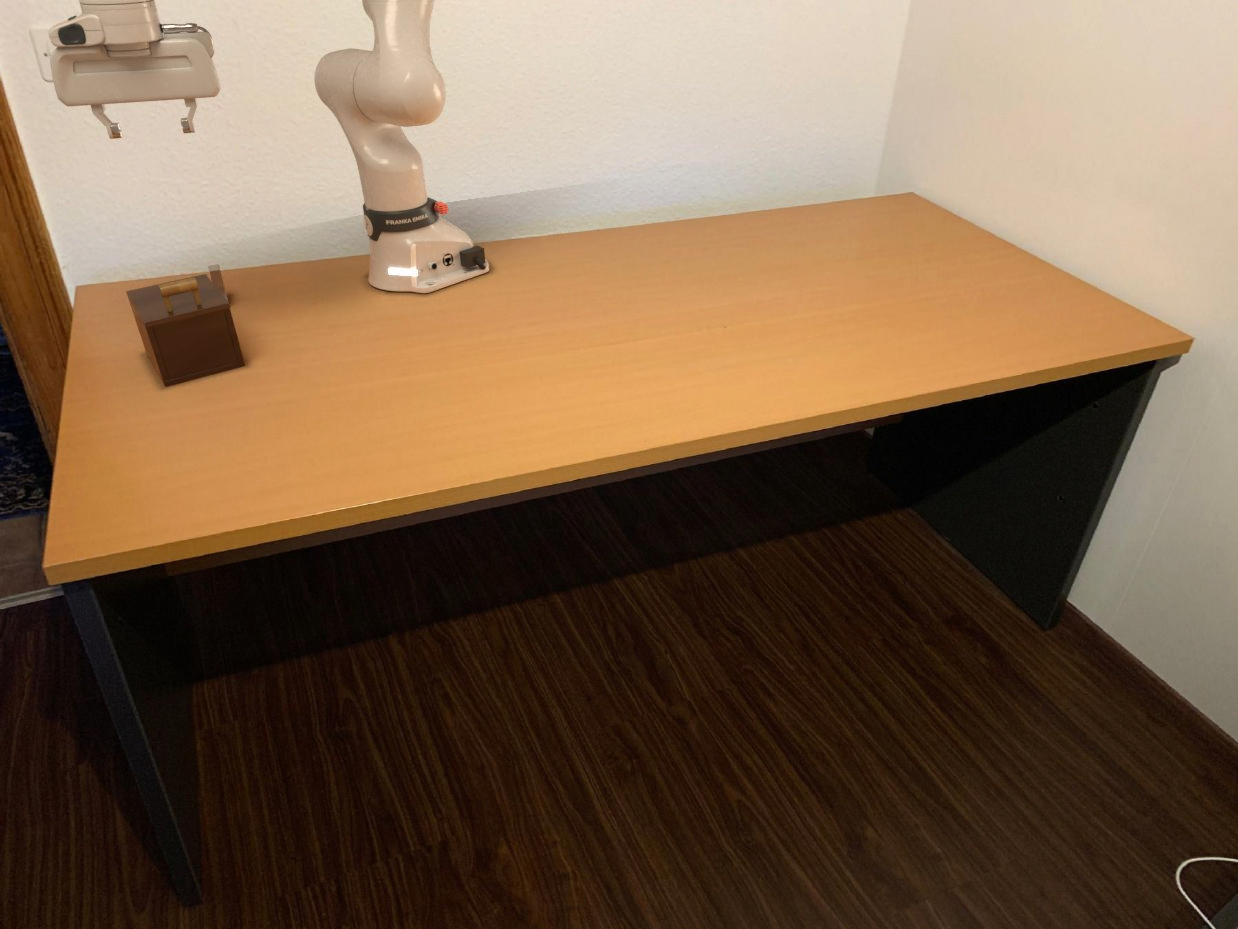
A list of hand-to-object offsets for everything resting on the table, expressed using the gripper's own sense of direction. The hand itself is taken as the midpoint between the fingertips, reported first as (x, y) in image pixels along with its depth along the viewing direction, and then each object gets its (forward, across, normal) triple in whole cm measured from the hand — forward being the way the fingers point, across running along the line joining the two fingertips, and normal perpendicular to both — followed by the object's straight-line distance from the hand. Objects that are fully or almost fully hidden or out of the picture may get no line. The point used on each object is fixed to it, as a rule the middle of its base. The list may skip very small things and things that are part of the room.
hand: (153, 134), depth 128 cm
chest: (+34, +2, +2) cm, 34 cm away
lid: (+24, +2, +2) cm, 24 cm away
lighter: (+34, -1, -20) cm, 39 cm away
